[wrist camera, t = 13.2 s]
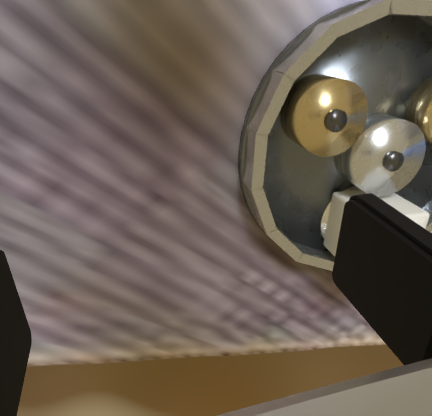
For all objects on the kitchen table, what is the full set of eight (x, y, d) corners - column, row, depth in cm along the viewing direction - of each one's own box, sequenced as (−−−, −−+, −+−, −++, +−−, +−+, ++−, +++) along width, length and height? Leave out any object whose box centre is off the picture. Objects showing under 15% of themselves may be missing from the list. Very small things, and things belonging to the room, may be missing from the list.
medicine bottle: (372, 238, 47) (449, 300, 36) (321, 245, 45) (387, 311, 34) (385, 186, 44) (473, 237, 33) (331, 190, 42) (407, 246, 31)
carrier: (249, -12, 32) (275, -18, 27) (508, 5, 39) (566, 3, 34) (231, 269, 44) (247, 299, 39) (430, 242, 52) (464, 265, 47)
